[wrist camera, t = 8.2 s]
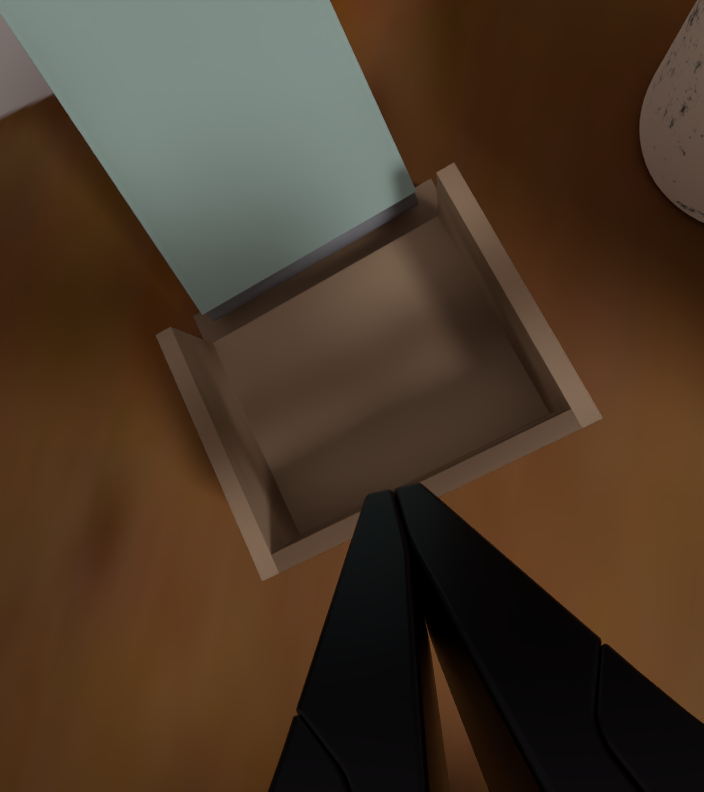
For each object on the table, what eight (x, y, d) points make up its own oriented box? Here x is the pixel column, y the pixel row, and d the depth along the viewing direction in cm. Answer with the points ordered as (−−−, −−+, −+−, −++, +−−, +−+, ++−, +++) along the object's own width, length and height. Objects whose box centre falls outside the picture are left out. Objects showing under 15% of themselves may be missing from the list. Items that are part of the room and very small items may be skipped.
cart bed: (562, 422, 18) (602, 418, 14) (308, 545, 20) (262, 581, 15) (431, 193, 20) (426, 115, 15) (206, 322, 22) (135, 289, 17)
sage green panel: (422, 204, 17) (223, -234, 13) (209, 326, 19) (-35, -40, 14) (415, 204, 19) (233, -192, 15) (217, 318, 20) (-3, -18, 16)
